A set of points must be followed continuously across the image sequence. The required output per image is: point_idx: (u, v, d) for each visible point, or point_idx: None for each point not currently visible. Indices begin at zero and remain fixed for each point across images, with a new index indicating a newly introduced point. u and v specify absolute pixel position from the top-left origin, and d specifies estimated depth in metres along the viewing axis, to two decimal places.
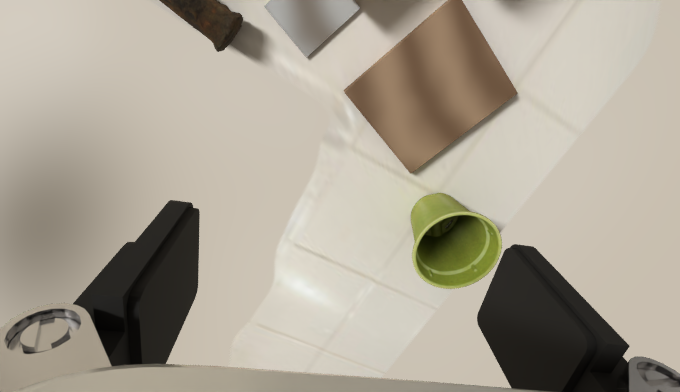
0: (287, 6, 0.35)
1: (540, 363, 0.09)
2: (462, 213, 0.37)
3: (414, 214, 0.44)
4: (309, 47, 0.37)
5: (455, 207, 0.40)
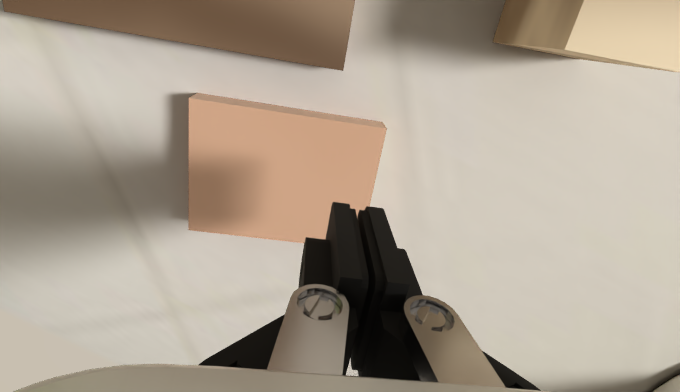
0: None
1: None
2: None
3: None
4: None
5: None
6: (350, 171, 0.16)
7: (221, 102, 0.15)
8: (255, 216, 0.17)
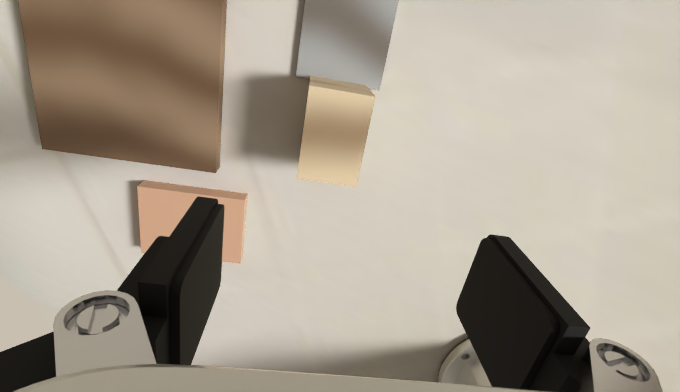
0: (375, 5, 0.24)
1: (510, 347, 0.09)
2: None
3: None
4: None
5: None
6: (228, 221, 0.30)
7: (154, 187, 0.28)
8: None
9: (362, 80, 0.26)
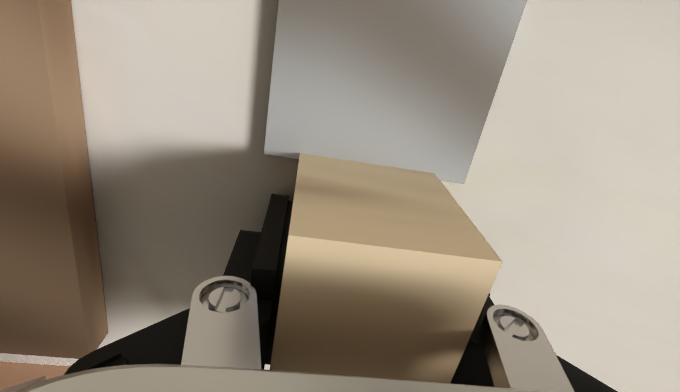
0: None
1: None
2: None
3: None
4: None
5: None
6: None
7: None
8: None
9: (426, 162, 0.11)
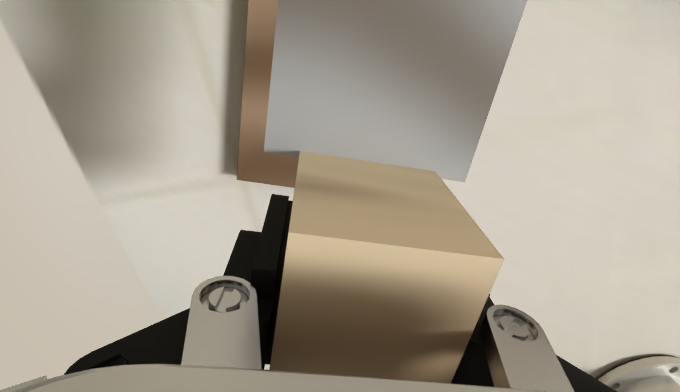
0: None
1: None
2: None
3: None
4: None
5: None
6: None
7: None
8: None
9: (426, 160, 0.11)
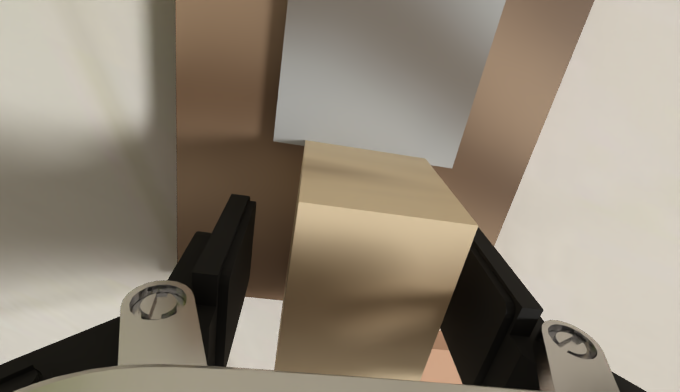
0: None
1: (472, 331, 0.10)
2: None
3: None
4: None
5: None
6: None
7: None
8: None
9: (418, 149, 0.12)
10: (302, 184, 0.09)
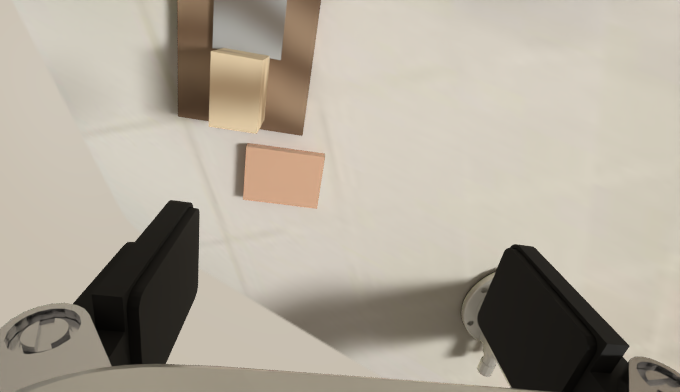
0: None
1: (540, 363, 0.09)
2: None
3: None
4: None
5: None
6: (310, 174, 0.39)
7: (258, 147, 0.38)
8: (271, 193, 0.40)
9: (266, 51, 0.33)
10: (214, 50, 0.30)
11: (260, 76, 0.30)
